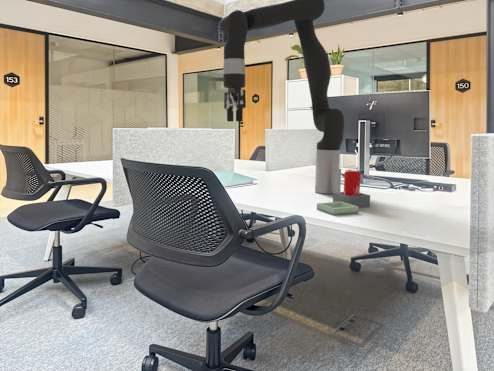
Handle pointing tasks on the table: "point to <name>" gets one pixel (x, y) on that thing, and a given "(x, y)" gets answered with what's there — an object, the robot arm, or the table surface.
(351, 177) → the beverage can
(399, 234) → the table surface
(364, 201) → the dark grey open box
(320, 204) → the tray
